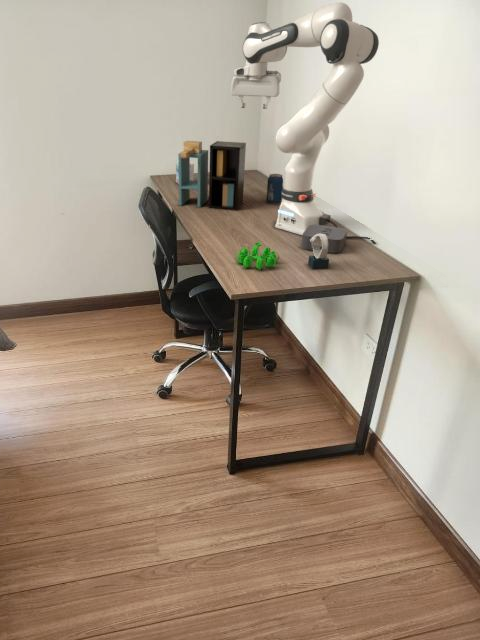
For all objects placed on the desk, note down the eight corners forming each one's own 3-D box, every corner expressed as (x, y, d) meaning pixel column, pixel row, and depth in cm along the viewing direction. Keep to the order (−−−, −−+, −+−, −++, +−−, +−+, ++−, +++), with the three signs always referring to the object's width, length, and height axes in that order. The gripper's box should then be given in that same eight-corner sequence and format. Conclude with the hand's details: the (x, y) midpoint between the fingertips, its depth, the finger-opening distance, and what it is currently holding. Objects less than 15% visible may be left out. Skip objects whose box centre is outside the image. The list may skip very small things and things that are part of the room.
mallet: (186, 150, 237) (186, 140, 235) (201, 151, 236) (202, 141, 233) (175, 157, 225) (175, 146, 223) (191, 158, 224) (191, 147, 221)
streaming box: (339, 254, 192) (341, 240, 189) (299, 249, 197) (301, 235, 194) (346, 242, 203) (348, 228, 200) (308, 237, 208) (310, 224, 205)
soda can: (280, 200, 251) (283, 173, 245) (281, 204, 246) (283, 177, 239) (266, 200, 252) (268, 173, 245) (266, 204, 246) (268, 176, 239)
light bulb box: (175, 182, 281) (175, 160, 275) (188, 181, 282) (188, 159, 276) (181, 187, 272) (181, 164, 266) (194, 186, 274) (194, 163, 268)
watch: (321, 261, 186) (325, 230, 180) (329, 270, 180) (334, 237, 174) (305, 262, 185) (309, 231, 179) (314, 271, 179) (318, 238, 173)
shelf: (236, 210, 238) (239, 147, 223) (208, 207, 241) (209, 145, 227) (242, 203, 246) (245, 142, 232) (215, 201, 250) (217, 141, 235)
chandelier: (287, 262, 185) (289, 243, 181) (261, 275, 176) (263, 254, 172) (252, 252, 193) (253, 233, 190) (226, 264, 184) (226, 244, 180)
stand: (199, 207, 242) (200, 155, 229) (179, 205, 244) (178, 153, 232) (207, 200, 251) (208, 150, 239) (187, 198, 254) (187, 148, 241)
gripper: (282, 70, 219) (279, 108, 227) (234, 69, 224) (232, 106, 232) (280, 71, 214) (277, 110, 222) (230, 70, 219) (229, 108, 227)
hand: (254, 108), depth 227 cm, fingers open, 8 cm apart
